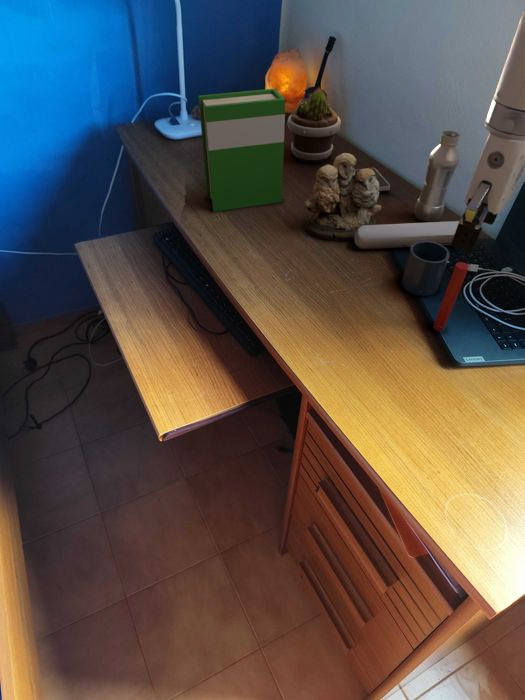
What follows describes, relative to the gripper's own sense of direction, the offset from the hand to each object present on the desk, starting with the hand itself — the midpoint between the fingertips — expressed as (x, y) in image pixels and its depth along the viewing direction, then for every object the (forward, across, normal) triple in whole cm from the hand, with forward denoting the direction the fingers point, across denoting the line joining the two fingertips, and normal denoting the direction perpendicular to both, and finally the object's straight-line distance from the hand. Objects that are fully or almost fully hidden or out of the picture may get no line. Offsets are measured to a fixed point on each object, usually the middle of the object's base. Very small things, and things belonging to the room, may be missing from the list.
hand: (472, 234), depth 71 cm
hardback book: (+20, +16, +58) cm, 63 cm away
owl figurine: (+20, +19, +32) cm, 42 cm away
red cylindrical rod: (+20, 0, 0) cm, 20 cm away
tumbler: (+20, +10, +8) cm, 24 cm away
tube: (+20, +22, +16) cm, 34 cm away
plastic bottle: (+20, +35, +17) cm, 44 cm away
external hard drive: (+20, +42, +36) cm, 59 cm away
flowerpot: (+20, +48, +58) cm, 78 cm away
